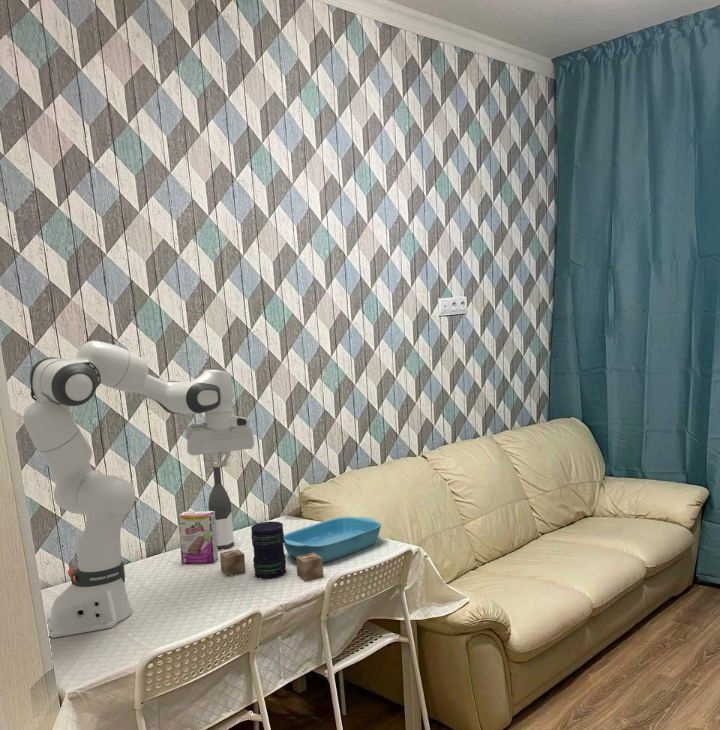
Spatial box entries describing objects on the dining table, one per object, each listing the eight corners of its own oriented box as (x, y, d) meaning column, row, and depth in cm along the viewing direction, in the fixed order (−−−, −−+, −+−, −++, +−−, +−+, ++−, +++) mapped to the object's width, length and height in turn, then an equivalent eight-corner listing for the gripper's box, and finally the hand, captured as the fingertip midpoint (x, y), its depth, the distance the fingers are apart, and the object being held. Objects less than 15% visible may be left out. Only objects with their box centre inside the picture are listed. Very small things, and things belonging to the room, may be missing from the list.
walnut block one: (305, 581, 207) (303, 561, 207) (297, 576, 213) (295, 556, 212) (323, 577, 210) (322, 557, 210) (315, 571, 215) (313, 551, 215)
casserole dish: (348, 530, 257) (347, 511, 257) (394, 540, 242) (393, 520, 241) (269, 559, 230) (268, 538, 230) (315, 572, 215) (314, 549, 215)
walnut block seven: (226, 577, 216) (225, 557, 215) (221, 571, 221) (219, 552, 221) (245, 572, 219) (244, 553, 218) (239, 567, 224) (238, 548, 224)
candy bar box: (181, 564, 230) (177, 515, 229) (186, 559, 235) (182, 511, 234) (214, 563, 229) (210, 514, 228) (218, 558, 234) (215, 510, 233)
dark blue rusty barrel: (251, 580, 211) (247, 531, 211) (257, 569, 221) (253, 522, 220) (284, 578, 211) (280, 529, 210) (288, 567, 221) (285, 520, 220)
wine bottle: (214, 543, 251) (207, 460, 250) (236, 542, 251) (230, 459, 249) (208, 550, 243) (201, 465, 241) (231, 549, 243) (225, 464, 241)
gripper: (188, 425, 206) (190, 472, 207) (254, 419, 216) (256, 464, 216) (183, 424, 212) (185, 469, 212) (248, 417, 221) (250, 461, 222)
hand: (222, 466), depth 214 cm, fingers closed
